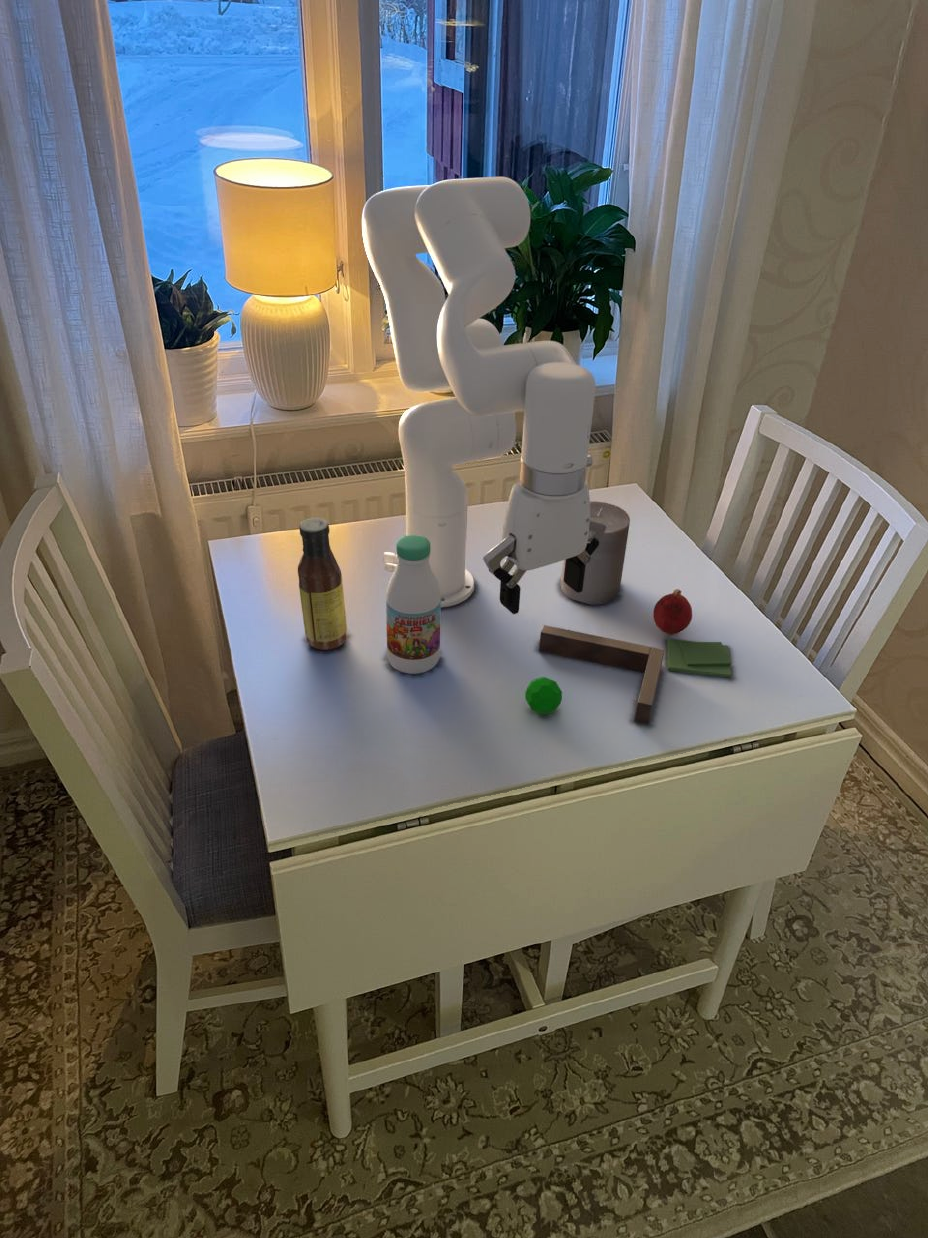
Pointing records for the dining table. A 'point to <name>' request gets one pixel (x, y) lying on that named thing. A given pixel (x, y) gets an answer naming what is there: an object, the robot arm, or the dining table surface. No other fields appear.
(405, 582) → the milk bottle
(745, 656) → the dining table surface
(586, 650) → the corner stop
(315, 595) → the sauce bottle
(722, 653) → the green rag
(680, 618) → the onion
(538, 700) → the polyhedron
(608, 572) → the pillar candle
